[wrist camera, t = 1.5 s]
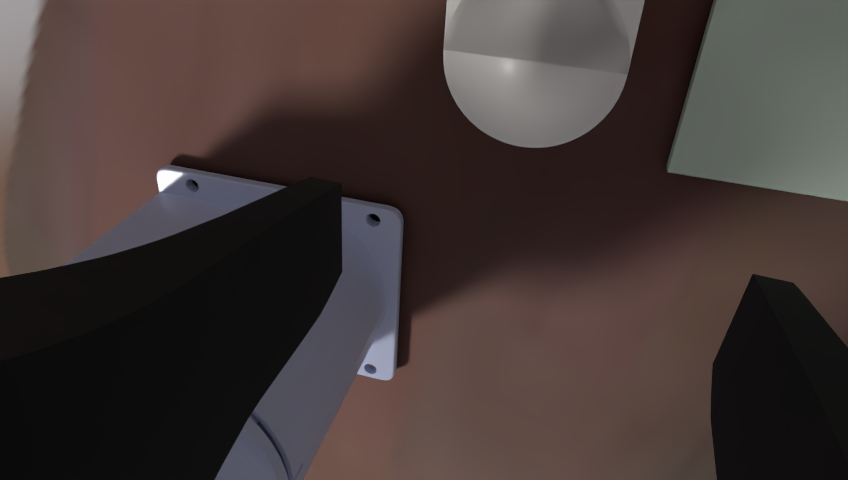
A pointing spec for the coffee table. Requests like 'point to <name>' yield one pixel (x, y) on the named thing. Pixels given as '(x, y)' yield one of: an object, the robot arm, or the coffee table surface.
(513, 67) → the connector
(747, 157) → the mat
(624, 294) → the coffee table surface
